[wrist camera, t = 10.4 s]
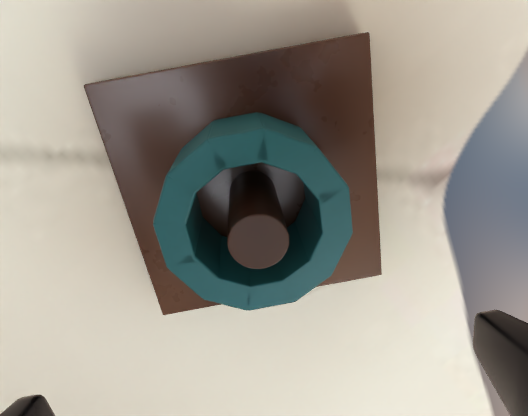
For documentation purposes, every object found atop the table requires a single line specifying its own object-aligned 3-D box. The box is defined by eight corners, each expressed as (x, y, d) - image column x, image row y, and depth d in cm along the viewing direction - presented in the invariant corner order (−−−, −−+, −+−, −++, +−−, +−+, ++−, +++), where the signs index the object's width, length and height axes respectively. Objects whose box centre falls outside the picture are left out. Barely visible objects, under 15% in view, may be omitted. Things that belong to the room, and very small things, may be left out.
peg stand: (166, 300, 19) (140, 395, 14) (94, 82, 15) (15, 98, 10) (373, 262, 19) (426, 342, 14) (359, 33, 15) (428, 22, 10)
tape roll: (193, 273, 17) (184, 323, 14) (152, 131, 15) (129, 153, 12) (335, 247, 17) (358, 290, 14) (319, 100, 15) (343, 112, 12)
